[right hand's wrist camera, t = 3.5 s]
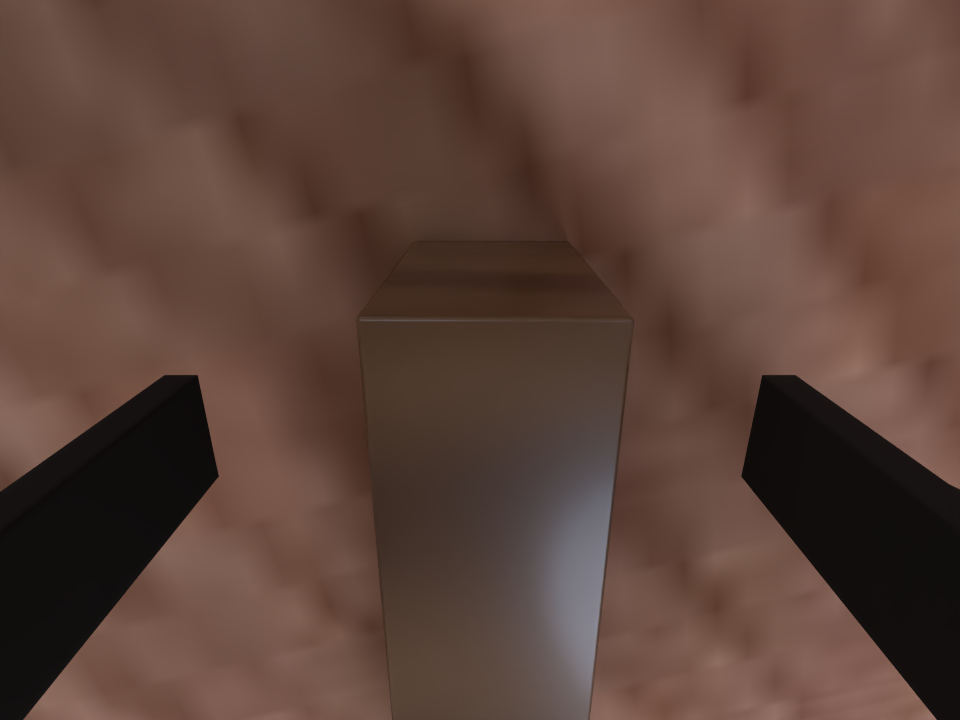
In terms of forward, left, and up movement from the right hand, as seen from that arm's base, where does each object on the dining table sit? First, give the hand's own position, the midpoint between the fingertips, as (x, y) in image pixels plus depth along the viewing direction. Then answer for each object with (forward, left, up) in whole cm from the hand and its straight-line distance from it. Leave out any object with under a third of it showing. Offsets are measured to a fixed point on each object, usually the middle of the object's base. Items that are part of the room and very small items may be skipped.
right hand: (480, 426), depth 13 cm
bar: (+9, 0, -6) cm, 11 cm away
